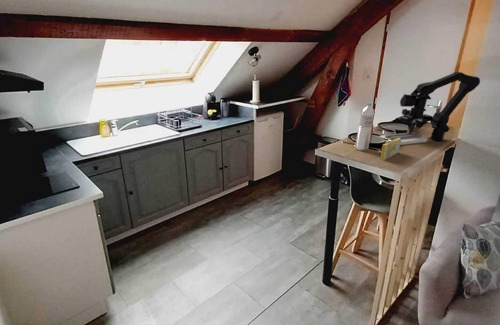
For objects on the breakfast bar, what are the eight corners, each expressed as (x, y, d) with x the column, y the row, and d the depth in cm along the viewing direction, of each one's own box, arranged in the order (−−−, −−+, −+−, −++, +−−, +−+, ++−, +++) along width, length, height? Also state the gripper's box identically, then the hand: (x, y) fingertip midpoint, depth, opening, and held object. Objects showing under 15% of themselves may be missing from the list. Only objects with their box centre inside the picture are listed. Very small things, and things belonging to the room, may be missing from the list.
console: (410, 135, 182) (411, 130, 180) (426, 141, 172) (428, 136, 170) (378, 139, 175) (380, 133, 174) (393, 145, 165) (394, 139, 163)
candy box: (394, 152, 156) (398, 137, 153) (398, 153, 155) (402, 138, 151) (379, 159, 147) (382, 143, 143) (383, 160, 145) (386, 145, 142)
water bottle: (367, 147, 161) (376, 102, 151) (368, 152, 155) (376, 105, 145) (354, 146, 163) (362, 101, 153) (354, 150, 157) (362, 104, 147)
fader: (411, 134, 177) (413, 125, 175) (418, 136, 173) (420, 128, 171) (406, 134, 176) (408, 126, 174) (412, 137, 171) (414, 128, 169)
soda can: (371, 145, 165) (375, 124, 160) (358, 144, 166) (362, 124, 161) (369, 141, 171) (373, 121, 166) (356, 140, 172) (360, 120, 168)
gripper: (420, 102, 177) (414, 127, 183) (395, 104, 171) (390, 130, 178) (436, 106, 167) (429, 132, 173) (410, 109, 162) (404, 135, 168)
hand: (412, 132), depth 173 cm, fingers closed on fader, 4 cm apart
